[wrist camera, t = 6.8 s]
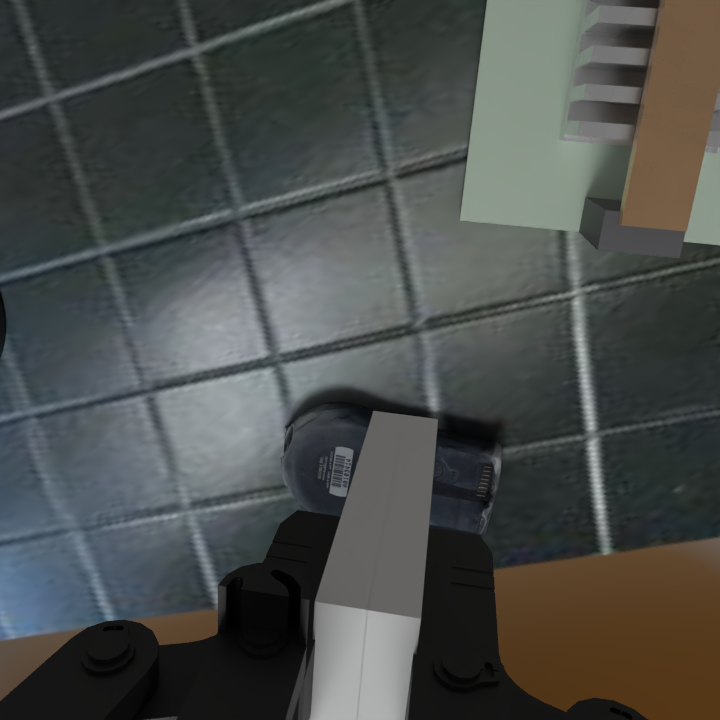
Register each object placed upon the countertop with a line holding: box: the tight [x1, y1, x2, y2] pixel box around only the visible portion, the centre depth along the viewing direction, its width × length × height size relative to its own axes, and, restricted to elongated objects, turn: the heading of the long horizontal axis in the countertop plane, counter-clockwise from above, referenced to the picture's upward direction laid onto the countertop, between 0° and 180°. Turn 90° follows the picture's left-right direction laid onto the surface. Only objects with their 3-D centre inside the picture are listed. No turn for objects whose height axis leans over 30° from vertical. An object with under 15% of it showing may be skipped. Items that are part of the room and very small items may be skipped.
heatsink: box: [559, 0, 720, 153], centre depth 33 cm, size 8×8×6 cm
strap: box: [617, 0, 720, 232], centre depth 30 cm, size 4×15×1 cm, turn 176°
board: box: [460, 0, 720, 258], centre depth 33 cm, size 18×18×10 cm
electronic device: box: [281, 402, 503, 542], centre depth 47 cm, size 9×6×15 cm
